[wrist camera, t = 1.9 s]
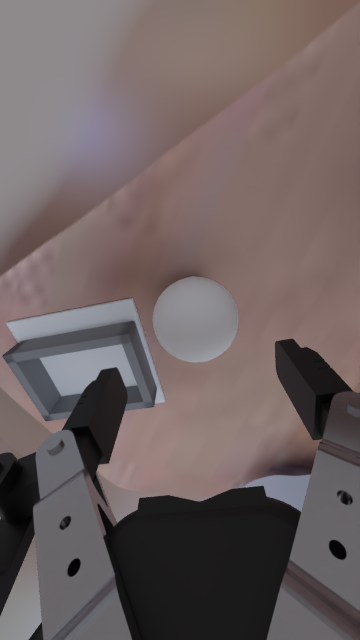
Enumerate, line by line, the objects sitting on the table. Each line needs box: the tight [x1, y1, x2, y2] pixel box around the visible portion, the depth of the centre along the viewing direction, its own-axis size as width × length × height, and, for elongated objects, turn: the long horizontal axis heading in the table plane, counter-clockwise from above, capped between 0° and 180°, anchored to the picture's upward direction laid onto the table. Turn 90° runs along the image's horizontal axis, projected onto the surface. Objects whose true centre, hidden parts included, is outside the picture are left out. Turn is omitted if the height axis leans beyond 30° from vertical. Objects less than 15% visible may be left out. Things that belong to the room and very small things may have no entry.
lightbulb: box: [153, 276, 239, 363], centre depth 19 cm, size 6×6×11 cm
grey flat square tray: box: [3, 298, 166, 421], centre depth 27 cm, size 15×15×3 cm
